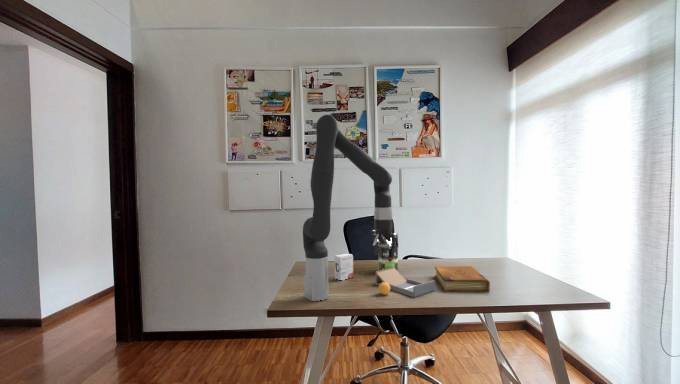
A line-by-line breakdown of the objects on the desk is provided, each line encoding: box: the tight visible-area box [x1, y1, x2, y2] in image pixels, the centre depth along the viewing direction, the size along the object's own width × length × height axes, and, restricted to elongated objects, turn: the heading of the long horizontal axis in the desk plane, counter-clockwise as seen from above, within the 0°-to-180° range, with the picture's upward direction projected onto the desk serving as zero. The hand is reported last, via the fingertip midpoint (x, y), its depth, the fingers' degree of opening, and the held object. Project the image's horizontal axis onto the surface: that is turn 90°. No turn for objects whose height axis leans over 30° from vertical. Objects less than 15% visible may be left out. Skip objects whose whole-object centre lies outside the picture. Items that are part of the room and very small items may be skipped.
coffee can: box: [378, 243, 399, 272], centre depth 173 cm, size 10×10×14 cm
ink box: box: [334, 253, 354, 281], centre depth 163 cm, size 9×5×12 cm, turn 129°
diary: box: [434, 265, 491, 293], centre depth 152 cm, size 23×19×6 cm
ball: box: [378, 282, 391, 296], centre depth 139 cm, size 5×5×5 cm
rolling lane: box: [374, 267, 436, 298], centre depth 148 cm, size 13×24×6 cm, turn 37°
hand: (383, 256), depth 139 cm, fingers open, 8 cm apart
